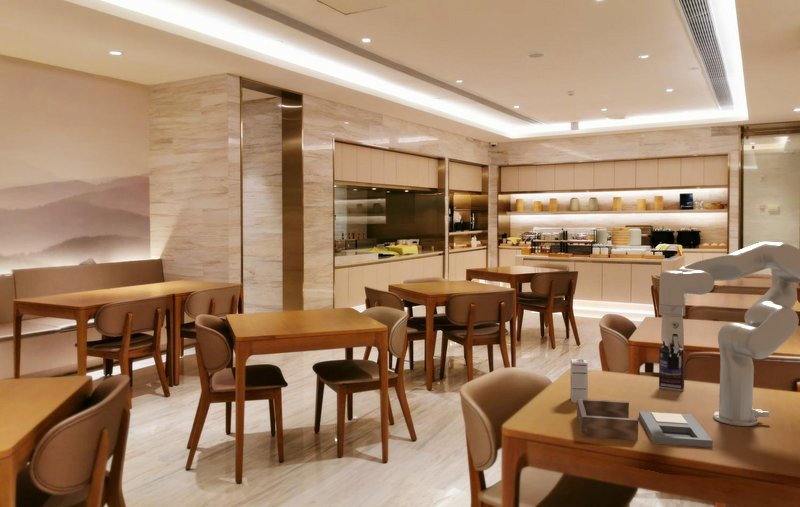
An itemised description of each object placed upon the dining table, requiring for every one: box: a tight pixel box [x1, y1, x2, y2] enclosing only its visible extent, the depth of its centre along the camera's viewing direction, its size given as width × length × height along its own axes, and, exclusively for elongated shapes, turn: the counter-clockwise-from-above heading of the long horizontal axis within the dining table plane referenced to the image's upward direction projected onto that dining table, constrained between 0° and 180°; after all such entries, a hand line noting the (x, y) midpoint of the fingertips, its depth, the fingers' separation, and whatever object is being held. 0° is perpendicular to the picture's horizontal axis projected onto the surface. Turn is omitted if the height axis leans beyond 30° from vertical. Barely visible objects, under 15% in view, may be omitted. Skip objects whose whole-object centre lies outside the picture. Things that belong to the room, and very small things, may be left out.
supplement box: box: [658, 345, 686, 392], centre depth 236 cm, size 9×5×16 cm, turn 58°
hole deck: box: [638, 410, 714, 448], centre depth 190 cm, size 16×24×2 cm, turn 168°
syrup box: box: [570, 358, 589, 404], centre depth 221 cm, size 6×6×14 cm
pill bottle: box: [660, 341, 681, 378], centre depth 195 cm, size 6×6×11 cm
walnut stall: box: [576, 398, 639, 441], centre depth 193 cm, size 16×19×6 cm
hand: (670, 366), depth 195 cm, fingers closed on pill bottle, 6 cm apart
